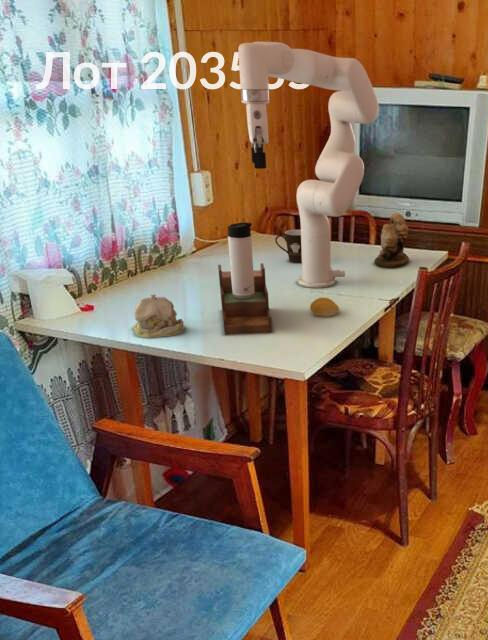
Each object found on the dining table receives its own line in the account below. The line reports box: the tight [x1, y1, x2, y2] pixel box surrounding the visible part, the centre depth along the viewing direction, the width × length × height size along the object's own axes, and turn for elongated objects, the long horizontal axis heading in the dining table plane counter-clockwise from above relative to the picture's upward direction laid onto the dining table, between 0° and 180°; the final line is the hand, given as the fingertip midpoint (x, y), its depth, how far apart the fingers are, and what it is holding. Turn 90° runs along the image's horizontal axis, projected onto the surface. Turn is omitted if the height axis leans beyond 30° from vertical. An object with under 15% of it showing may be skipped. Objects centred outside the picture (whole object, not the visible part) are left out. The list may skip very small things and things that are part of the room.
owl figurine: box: [374, 212, 410, 269], centre depth 266 cm, size 18×12×17 cm, turn 163°
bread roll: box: [309, 297, 340, 318], centre depth 220 cm, size 8×9×4 cm
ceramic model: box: [132, 294, 185, 339], centre depth 203 cm, size 14×11×10 cm
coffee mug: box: [274, 229, 302, 264], centre depth 267 cm, size 12×9×10 cm
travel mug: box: [227, 222, 255, 300], centre depth 205 cm, size 6×7×20 cm
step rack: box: [217, 262, 273, 336], centre depth 210 cm, size 13×21×14 cm, turn 11°
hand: (259, 165), depth 210 cm, fingers open, 9 cm apart
